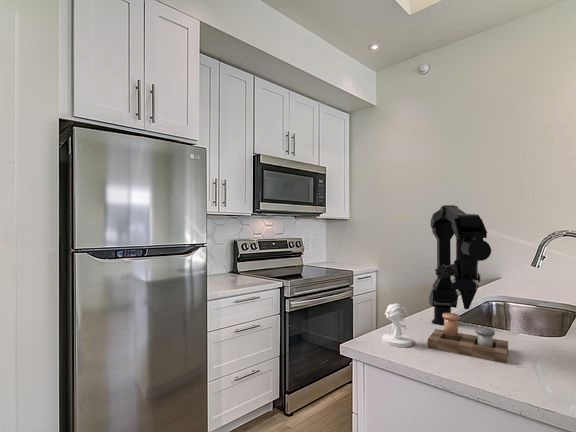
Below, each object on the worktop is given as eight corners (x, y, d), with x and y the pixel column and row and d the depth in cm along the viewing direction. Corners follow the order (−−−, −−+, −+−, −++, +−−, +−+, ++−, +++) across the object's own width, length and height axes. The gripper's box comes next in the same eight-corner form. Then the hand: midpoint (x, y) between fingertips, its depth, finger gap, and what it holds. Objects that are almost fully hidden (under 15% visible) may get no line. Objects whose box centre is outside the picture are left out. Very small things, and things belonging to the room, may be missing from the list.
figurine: (419, 344, 105) (419, 305, 105) (394, 348, 102) (394, 308, 102) (399, 335, 113) (399, 299, 114) (376, 338, 110) (376, 301, 110)
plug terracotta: (443, 330, 108) (443, 311, 108) (460, 333, 105) (460, 314, 105) (440, 334, 104) (441, 315, 104) (458, 337, 101) (458, 318, 101)
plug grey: (476, 346, 103) (476, 326, 103) (495, 349, 100) (495, 329, 100) (474, 351, 99) (474, 331, 99) (494, 354, 96) (494, 334, 96)
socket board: (435, 336, 112) (435, 328, 112) (508, 349, 101) (508, 341, 101) (427, 347, 103) (427, 339, 103) (506, 363, 91) (506, 354, 91)
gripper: (442, 252, 115) (442, 299, 115) (432, 257, 99) (431, 312, 99) (480, 254, 109) (480, 303, 109) (476, 260, 93) (475, 318, 93)
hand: (466, 308), depth 102 cm, fingers closed
